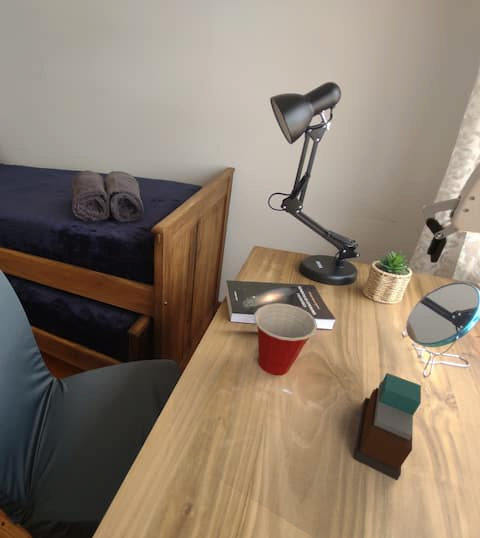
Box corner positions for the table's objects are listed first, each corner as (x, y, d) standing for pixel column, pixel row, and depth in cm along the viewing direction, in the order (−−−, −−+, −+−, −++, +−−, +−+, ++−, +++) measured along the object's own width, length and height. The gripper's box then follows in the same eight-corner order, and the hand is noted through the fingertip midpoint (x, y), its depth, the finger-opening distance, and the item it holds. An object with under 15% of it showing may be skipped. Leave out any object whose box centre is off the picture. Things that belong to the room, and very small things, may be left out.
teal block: (378, 386, 59) (387, 368, 57) (410, 398, 57) (421, 381, 55) (373, 424, 53) (382, 406, 51) (409, 440, 51) (420, 422, 49)
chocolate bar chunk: (363, 402, 64) (375, 377, 61) (400, 418, 61) (416, 392, 58) (353, 459, 55) (367, 432, 52) (397, 480, 52) (414, 453, 49)
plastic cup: (239, 345, 78) (249, 300, 72) (291, 348, 77) (305, 302, 71) (250, 384, 68) (262, 336, 62) (309, 387, 67) (327, 339, 61)
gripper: (623, 154, 45) (546, 271, 53) (446, 143, 54) (404, 245, 62) (651, 168, 39) (560, 296, 48) (449, 153, 48) (403, 263, 57)
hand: (472, 267), depth 55 cm, fingers open, 9 cm apart
